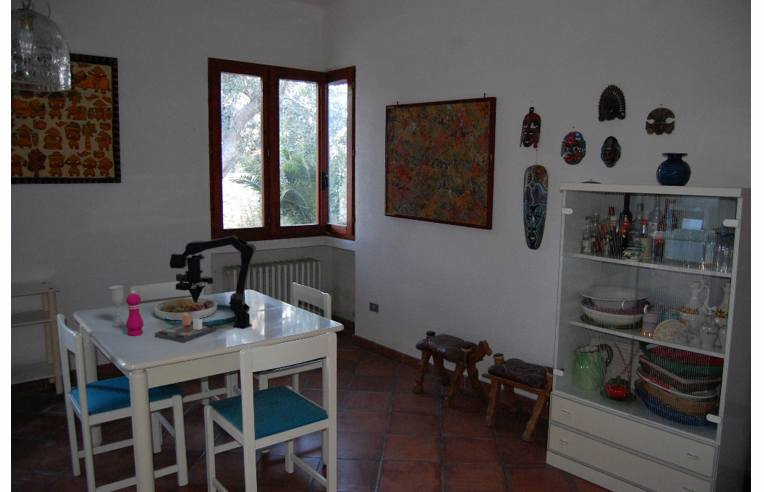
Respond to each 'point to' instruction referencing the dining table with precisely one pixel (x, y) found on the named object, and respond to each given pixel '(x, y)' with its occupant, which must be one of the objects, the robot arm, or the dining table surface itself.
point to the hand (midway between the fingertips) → (195, 301)
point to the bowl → (185, 308)
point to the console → (184, 332)
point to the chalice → (117, 301)
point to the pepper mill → (134, 315)
